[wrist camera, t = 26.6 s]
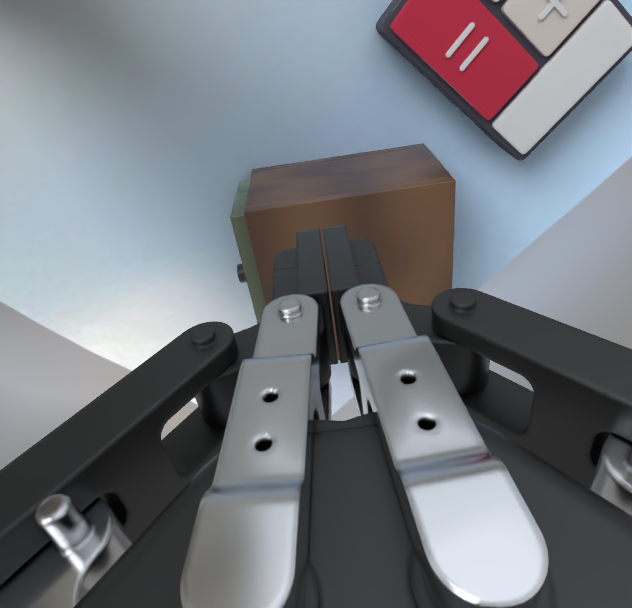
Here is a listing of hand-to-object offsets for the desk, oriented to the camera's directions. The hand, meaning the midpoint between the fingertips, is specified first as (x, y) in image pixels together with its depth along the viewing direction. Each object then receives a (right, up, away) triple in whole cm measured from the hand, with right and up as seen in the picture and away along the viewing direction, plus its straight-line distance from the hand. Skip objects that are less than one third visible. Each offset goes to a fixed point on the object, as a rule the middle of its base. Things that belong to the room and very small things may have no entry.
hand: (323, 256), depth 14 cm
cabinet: (+3, +5, +29) cm, 30 cm away
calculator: (+13, +19, +21) cm, 31 cm away
